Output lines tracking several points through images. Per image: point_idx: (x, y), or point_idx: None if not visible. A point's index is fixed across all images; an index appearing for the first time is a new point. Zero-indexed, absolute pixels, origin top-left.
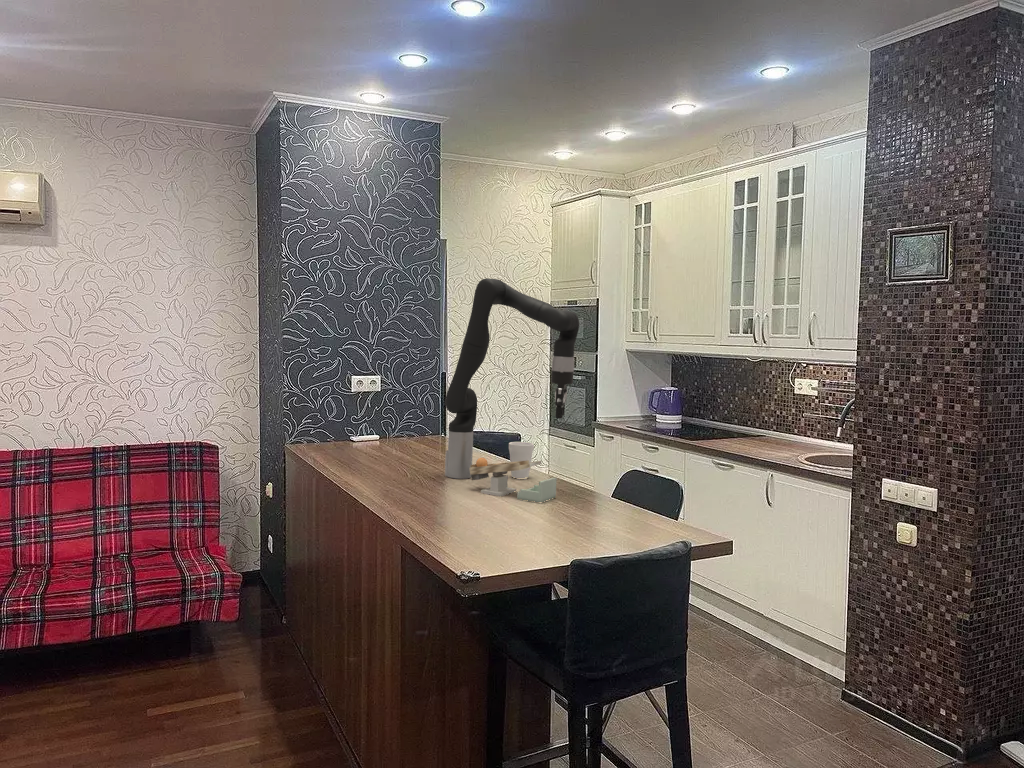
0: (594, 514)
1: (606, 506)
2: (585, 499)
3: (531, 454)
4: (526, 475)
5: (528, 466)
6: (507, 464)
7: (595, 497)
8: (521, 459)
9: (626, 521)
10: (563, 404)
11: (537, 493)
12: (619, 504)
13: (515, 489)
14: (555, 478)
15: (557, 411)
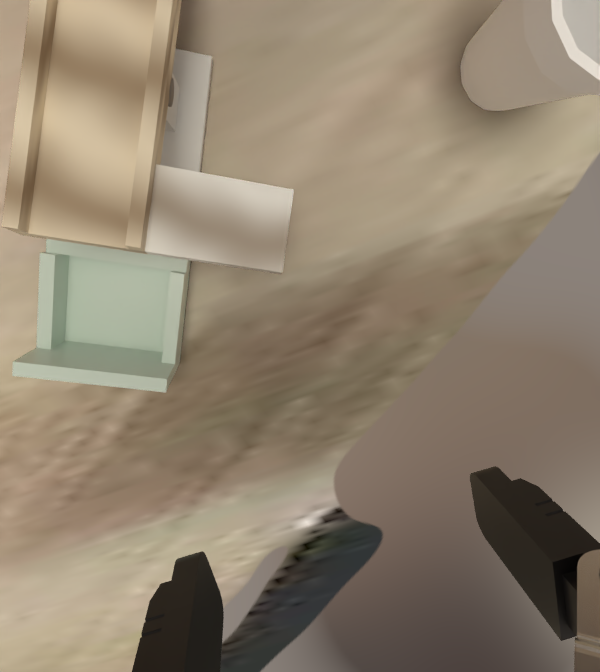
0: (28, 556)
1: (170, 547)
2: (233, 456)
3: (573, 93)
4: (489, 105)
5: (132, 251)
6: (13, 146)
7: (286, 473)
8: (506, 56)
9: (8, 656)
10: (571, 630)
11: (38, 341)
12: (227, 568)
13: (191, 170)
14: (155, 390)
15: (139, 656)
